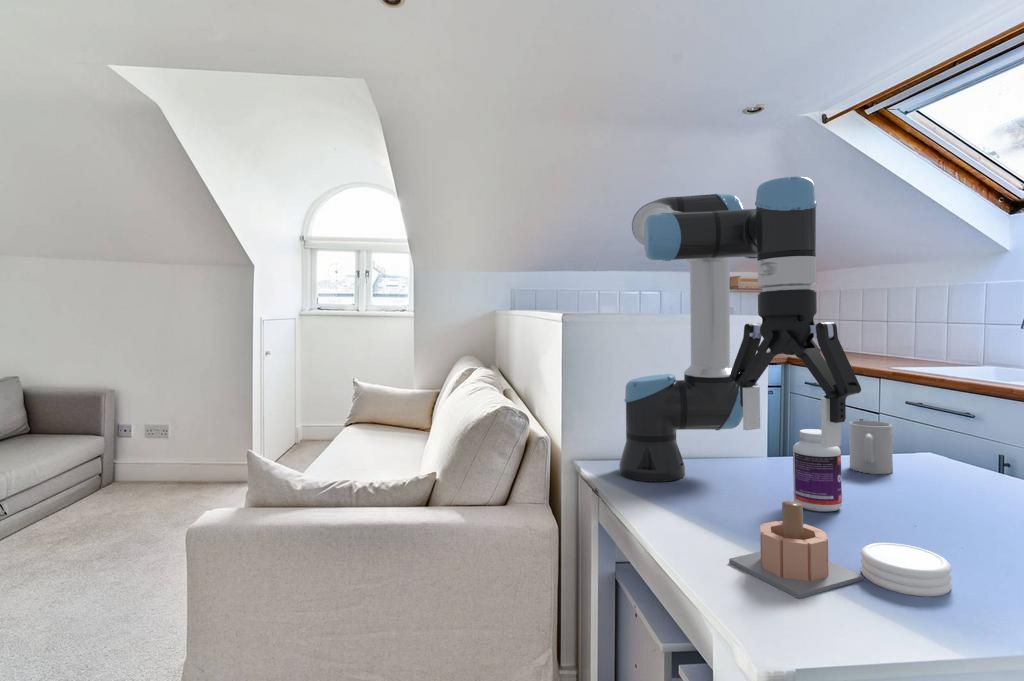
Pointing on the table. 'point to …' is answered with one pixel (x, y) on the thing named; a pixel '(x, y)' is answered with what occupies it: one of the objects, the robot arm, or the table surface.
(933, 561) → the coaster
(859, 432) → the mug
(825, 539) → the ring
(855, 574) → the post block
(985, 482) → the table surface
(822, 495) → the pill bottle
